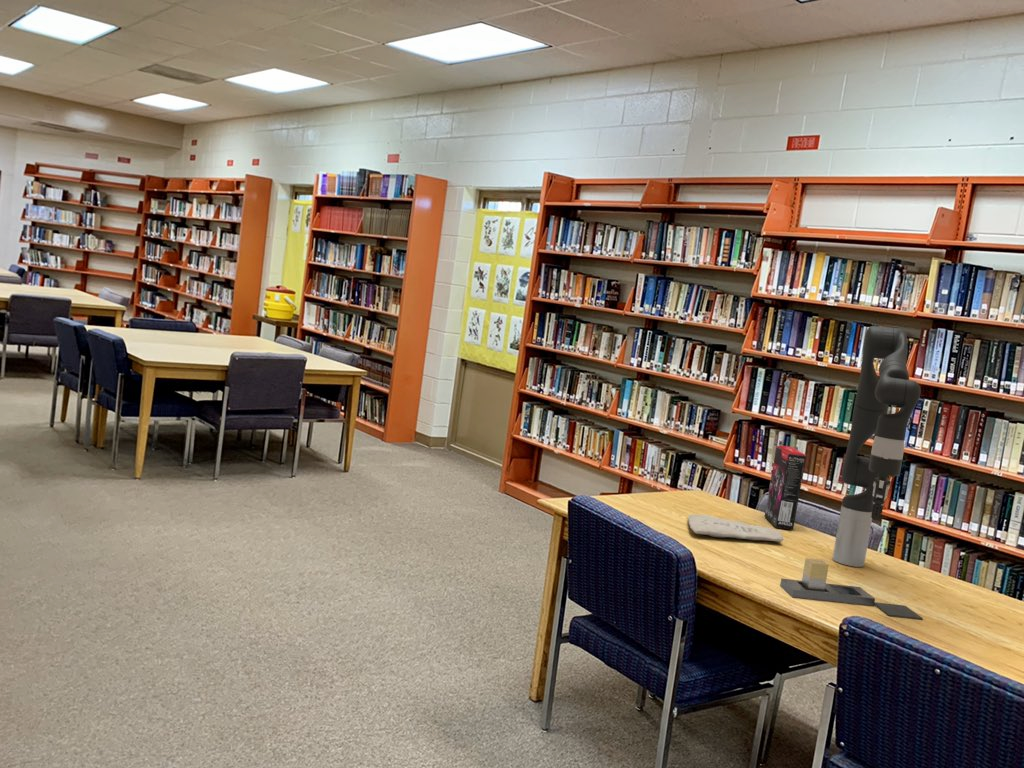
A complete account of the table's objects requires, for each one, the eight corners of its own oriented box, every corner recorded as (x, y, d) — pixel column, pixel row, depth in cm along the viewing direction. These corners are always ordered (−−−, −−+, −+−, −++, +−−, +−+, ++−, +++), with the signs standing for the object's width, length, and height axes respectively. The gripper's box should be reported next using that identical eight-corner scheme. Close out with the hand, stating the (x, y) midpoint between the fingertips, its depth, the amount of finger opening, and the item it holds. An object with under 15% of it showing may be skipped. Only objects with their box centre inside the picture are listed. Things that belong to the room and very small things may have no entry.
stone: (690, 538, 272) (787, 553, 269) (692, 523, 272) (789, 538, 268) (685, 521, 298) (773, 535, 294) (687, 508, 297) (775, 521, 293)
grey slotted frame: (780, 585, 234) (781, 578, 233) (858, 594, 235) (860, 587, 235) (792, 597, 225) (793, 589, 224) (873, 606, 226) (875, 598, 226)
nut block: (800, 590, 232) (805, 558, 231) (816, 592, 232) (821, 559, 231) (806, 596, 227) (812, 563, 226) (823, 598, 227) (828, 565, 226)
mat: (872, 603, 228) (872, 602, 228) (905, 607, 228) (905, 605, 228) (888, 616, 219) (888, 614, 219) (922, 619, 219) (922, 618, 219)
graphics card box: (763, 516, 317) (774, 444, 314) (781, 519, 316) (793, 446, 314) (775, 529, 300) (787, 452, 297) (795, 531, 299) (807, 454, 297)
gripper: (872, 449, 230) (862, 508, 232) (869, 455, 217) (859, 517, 219) (903, 454, 227) (892, 514, 228) (901, 461, 214) (891, 524, 216)
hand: (876, 516), depth 224 cm, fingers open, 8 cm apart
